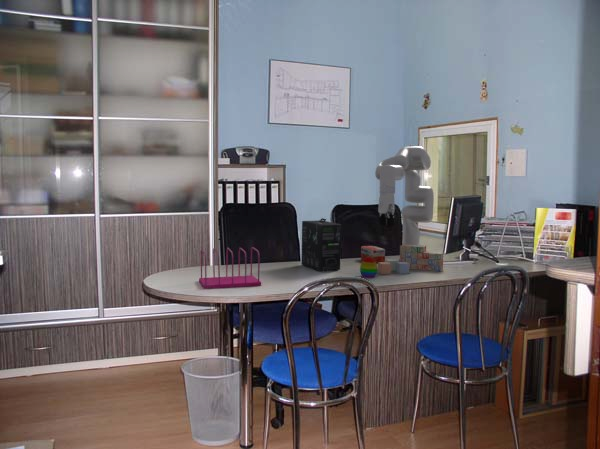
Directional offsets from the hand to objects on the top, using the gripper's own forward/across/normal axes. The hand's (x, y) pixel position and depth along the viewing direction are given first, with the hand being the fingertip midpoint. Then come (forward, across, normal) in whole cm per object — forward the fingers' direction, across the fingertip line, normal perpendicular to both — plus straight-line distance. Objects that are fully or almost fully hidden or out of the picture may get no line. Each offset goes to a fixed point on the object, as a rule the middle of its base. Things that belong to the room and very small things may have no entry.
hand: (386, 225), depth 265 cm
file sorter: (+26, +10, -77) cm, 82 cm away
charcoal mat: (+24, -4, +4) cm, 24 cm away
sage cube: (+23, -8, +6) cm, 26 cm away
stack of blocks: (+24, -10, +24) cm, 35 cm away
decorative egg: (+24, +7, -11) cm, 28 cm away
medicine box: (+24, -39, +8) cm, 46 cm away
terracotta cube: (+24, 0, 0) cm, 24 cm away
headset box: (+24, -24, -27) cm, 43 cm away
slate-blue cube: (+24, +1, +9) cm, 25 cm away
